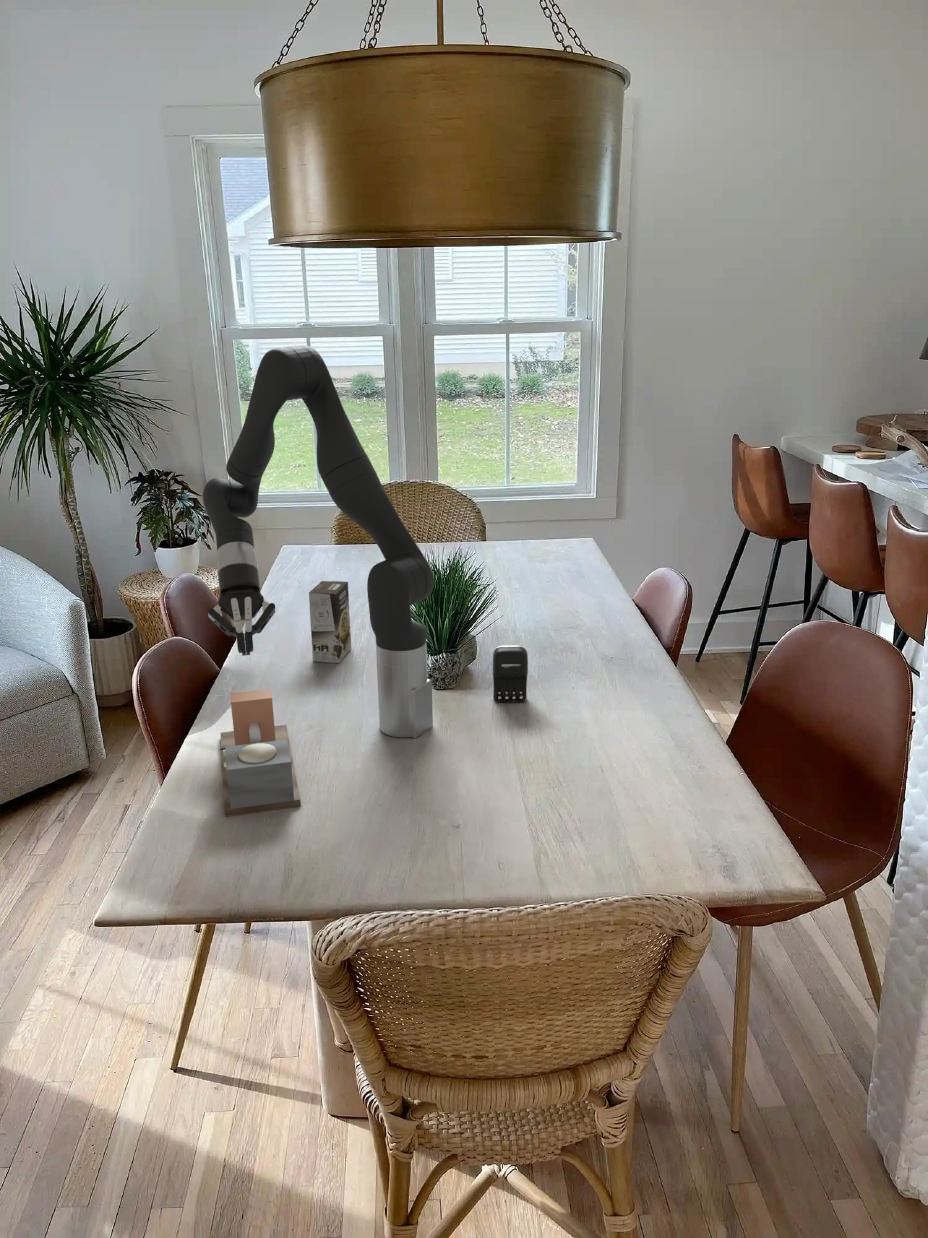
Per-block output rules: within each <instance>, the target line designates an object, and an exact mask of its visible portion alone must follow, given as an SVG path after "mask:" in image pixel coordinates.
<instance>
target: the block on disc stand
mask: <svg viewBox="0 0 928 1238" xmlns="http://www.w3.org/2000/svg"><path fill="white" fill-rule="evenodd" d="M229 693H230V694H229V696H230V697H229V698H230V709H231V716H232V717H231V718H232V729H233V731H234V738H235V746H237V745H245V744H253V743H262V742H270V741H276V738H275V727H274V726H275V716H274V705H273V696H272V690H271V688H265V689H257V690H247V691H238V692H237V691H236V692H229ZM228 747H229V746H228ZM219 749H220V751H221V750H225V747H221V746H220V748H219Z"/></svg>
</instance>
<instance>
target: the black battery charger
mask: <svg viewBox="0 0 928 1238" xmlns="http://www.w3.org/2000/svg"><path fill="white" fill-rule="evenodd" d="M528 656H529V654H528V650H527V649H526V647H525V646H523V645H513V644H511V645H510V644H509V645H508V644H507V645H505V644H504V645H499V646H496V647H495V648H494V650H493V652H492V681H493V687H492V688H493V692H492V693H493V694H492V697H493V700H494V702H495V703H499V704H500V703H501V704H502V703H503V704H506V703H507V704H512V703H513V704H517V703H518V704H519V702H521V703H524V702H526V701H527V697H528V692H527V690H528V689H527V688H528V687H527V686H528V684H527V683H528V673H529V672H528V671H529V669H528V668H529V657H528Z"/></svg>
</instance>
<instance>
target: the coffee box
mask: <svg viewBox="0 0 928 1238" xmlns="http://www.w3.org/2000/svg"><path fill="white" fill-rule="evenodd" d="M349 595H350V594H349V582H348V581H339V580H338V581H337V580H330V581H329V580H327V581H326V580H321V581H320V582H319V583H318V584H317V585H316V586H314V587H313V589H312V590H310V591H309V592H308V602H309V616H310V617H309V618H310V621H309V622H310V631H311V633H310V635H311V650H312V654H311V655H312V661H313V662H319V663H332V664H340V663H341V661H342V660H343V659H344V658H345V656H347V654H348V653H349V652H350V651H351V649H352V635H351V634H352V631H351V616H350V598H349Z"/></svg>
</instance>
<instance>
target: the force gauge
mask: <svg viewBox="0 0 928 1238" xmlns="http://www.w3.org/2000/svg"><path fill="white" fill-rule="evenodd" d="M274 727H275V738H276V741H270V742H262V743H253V744H245V745H237V746H235V738H234V730H230V731H222V732H220V747H225V750H220V752H221V753H220V754H221V768H222V791H223V795H222V796H223V809H224V810H223V811H224V812H223V813H224V817H230V816H231V817H232V816H238V815H239V816H240V815H246V814H252V813H260V812H266V811H267V812H268V811H274V810H275V811H276V810H283V809H289V808H296V807H297V808H298V807H301V806H302V802H301V795H300V788H299V784H298V781H297V774H296V770H295V763H294V759H293V754H292V749H291V743H290V738H289V733H288V728H287V724H283V725H282V724H280V725H274ZM228 746H229V747H228Z"/></svg>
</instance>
